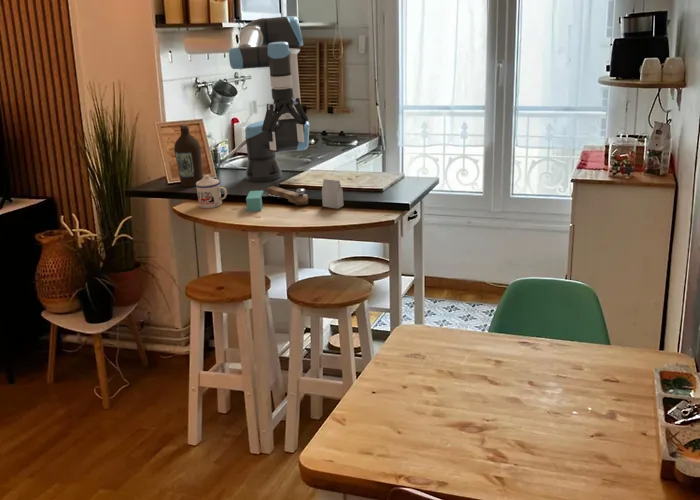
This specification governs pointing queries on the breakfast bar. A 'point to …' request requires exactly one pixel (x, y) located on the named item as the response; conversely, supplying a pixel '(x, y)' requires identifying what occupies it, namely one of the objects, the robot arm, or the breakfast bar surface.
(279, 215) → the breakfast bar surface
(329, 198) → the white paper bag
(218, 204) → the teacup with lid
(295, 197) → the walnut link
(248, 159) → the robot arm
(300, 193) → the pintle
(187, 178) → the olive oil
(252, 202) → the teal rectangular block
